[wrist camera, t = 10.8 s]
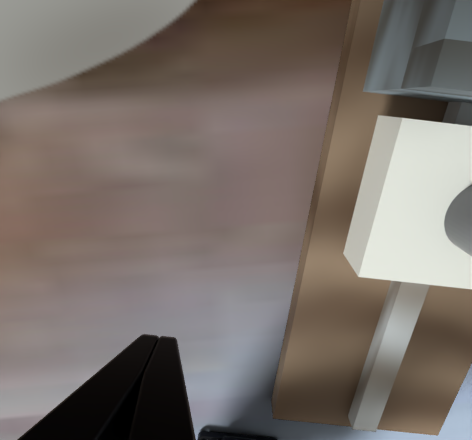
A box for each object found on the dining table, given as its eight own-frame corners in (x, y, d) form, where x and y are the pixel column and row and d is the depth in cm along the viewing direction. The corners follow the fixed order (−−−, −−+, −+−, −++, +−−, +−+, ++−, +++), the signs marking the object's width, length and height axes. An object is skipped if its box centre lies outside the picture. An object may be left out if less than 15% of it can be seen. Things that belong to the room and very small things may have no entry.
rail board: (426, 416, 25) (499, 542, 18) (271, 400, 25) (282, 520, 17) (640, -72, 14) (1024, -237, 7) (373, -106, 14) (502, -312, 7)
